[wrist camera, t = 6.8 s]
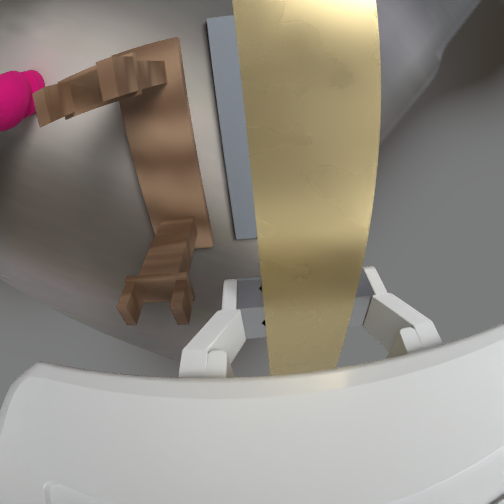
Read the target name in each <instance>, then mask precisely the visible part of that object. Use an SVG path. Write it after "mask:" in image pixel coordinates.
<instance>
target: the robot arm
mask: <svg viewBox="0 0 504 504" xmlns="http://www.w3.org/2000/svg"><path fill="white" fill-rule="evenodd" d="M359 326H363V328H364V329H365V330H366V331H367V332H368V333H369V334H371V336H373V337H374V338H375V339H376V340H377V341H378V342H379V343H380V344H381V345H382V346H383V347H384V348H385V349H386V350H387V351H388V352H389V354H388V356H387V358H386V359H383V360H378V361H373V362H368V363H363V364H358V365H352V366H346V367H340V368H333V369H326V370H319V371H311V372H303V373H293V374H283V375H271V376H256V377H234V374H233V371H232V368H231V365H230V364H231V362H232V361H233V359H234V358H235V356H236V355H237V353H238V352H239V350H240V349H241V347H242V345H243V344H244V342H245V341H246V339H249V338H260V337H267V335H266V324H265V313H264V302H263V291H262V280H261V277H260V278H242V279H227V280H225V281H224V285H223V297H222V310H220V311H217V312H216V313H215V314H214V315H213V317H212V318H211V319H210V320H209V321H208V322H207V323H206V324H205V326H204V327H203V328H202V329H201V330H200V331H199V332H198V333H197V334H196V336H195V337H194V338H193V339H192V340H191V341H190V342H189V343H188V344H187V346H186V347H185V348H184V349H183V350H182V356H181V363H180V370H179V377H178V378H172V377H153V376H139V375H127V374H118V373H108V372H100V371H93V370H86V369H80V368H74V367H68V366H62V365H57V364H52V363H48V362H42V361H41V362H37V363H35V364H33V365H32V366H31V367H29V368H28V369H27V370H26V371H25V372H23V373H22V374H21V375H20V376H19V377H18V378H17V379H16V380H15V381H14V382H13V383H12V385H11V387H10V389H9V391H8V393H7V395H6V397H5V400H4V402H3V405H2V408H1V411H0V504H504V323H502V324H499V325H496V326H494V327H491V328H488V329H486V330H483V331H481V332H478V333H475V334H472V335H469V336H466V337H464V338H461V339H458V340H454V341H451V342H448V343H445V344H443V343H442V341H441V339H440V337H439V335H438V332H437V330H436V329H435V326H434V324H433V322H432V321H431V320H429V319H428V318H427V317H425V316H424V315H422V314H421V313H419V312H418V311H416V310H415V309H414V308H412V307H411V306H409V305H408V304H406V303H405V302H403V301H402V300H400V299H399V298H397V297H396V296H394V295H393V294H391V293H387V291H386V289H385V287H384V285H383V283H382V281H381V279H380V277H379V275H378V273H377V271H376V269H375V268H374V267H373V266H370V267H362V270H361V275H360V280H359V284H358V289H357V293H356V297H355V301H354V306H353V310H352V314H351V317H350V321H349V325H348V328H351V327H359Z"/></svg>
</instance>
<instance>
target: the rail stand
mask: <svg viewBox="0 0 504 504" xmlns="http://www.w3.org/2000/svg"><path fill="white" fill-rule="evenodd" d="M33 100H34V104H35V109H36V113H37V118H38V122H39V126H40V127H42V126H45V125H47V124H49V123H51V122H53V121H55V120H57V119H60V118H62V117H64V116H65V119H69V118H71V117H74V116H76V115H79V114H82V113H84V112H87V111H90V110H92V109H95V108H98V107H101V106H104V105H107V104H110V103H113V102H116V101H120V106H121V111H122V116H123V120H124V125H125V129H126V134H127V138H128V142H129V146H130V150H131V154H132V158H133V162H134V166H135V169H136V173H137V177H138V180H139V184H140V187H141V191H142V194H143V198H144V201H145V204H146V207H147V211H148V214H149V217H150V220H151V223H152V226H153V230H154V233H155V236H154V239H153V241H152V243H151V246H150V248H149V250H148V253H147V255H146V257H145V260H144V262H143V265H142V267H141V270H140V272H139V275H138V276H127V277H126V279H125V282H126V285H125V287H124V290H123V292H122V295H121V297H120V300H119V302H118V305H117V307H116V308H117V309H118V311H119V312H120V314H121V316H122V317H123V319H124V321H125V322H126V324H127V325H137V322H138V319H139V315H140V312H141V309H142V306H143V303H150V302H170V308H171V311H172V313H173V315H174V317H175V319H176V322H177V324H178V325H185V324H189V321H190V315H191V309H192V303H193V301H194V298H195V295H194V292H193V289H192V286H191V283H190V280H189V277H188V273H189V268H190V264H191V259H192V255H193V251H194V248H206V247H213V244H214V240H213V235H212V230H211V225H210V220H209V215H208V210H207V205H206V200H205V195H204V189H203V184H202V179H201V173H200V168H199V162H198V157H197V151H196V145H195V140H194V134H193V128H192V122H191V116H190V109H189V103H188V97H187V90H186V83H185V77H184V70H183V63H182V55H181V48H180V40H179V38H177V37H175V38H170V39H166V40H162V41H158V42H154V43H151V44H147V45H144V46H140V47H137V48H134V49H131V50H128V51H125V52H122V53H119V54H116V55H113V56H112V57H109V58H107V59H104V60H101V61H99V62H96V65H95V66H93V67H90V68H88V69H86V70H83V71H81V72H79V73H76V74H74V75H72V76H70V77H68V78H66V79H64V80H62V81H60V82H58V84H55V85H51V86H47V87H44V88H42V89H40V90H38V91H36V92H35V93H33Z"/></svg>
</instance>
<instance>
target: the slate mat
mask: <svg viewBox="0 0 504 504" xmlns="http://www.w3.org/2000/svg"><path fill="white" fill-rule="evenodd" d="M207 27H208V35H209V44H210V52H211V60H212V68H213V76H214V84H215V91H216V99H217V107H218V114H219V122H220V129H221V136H222V144H223V151H224V158H225V165H226V172H227V179H228V186H229V193H230V200H231V207H232V214H233V220H234V227H235V234H236V240H238V239H249V238H257V228H256V218H255V208H254V198H253V188H252V178H251V168H250V158H249V148H248V139H247V129H246V119H245V110H244V100H243V91H242V82H241V72H240V63H239V54H238V45H237V36H236V27H235V19H234V15H231V16H222V17H215V18H208V19H207Z"/></svg>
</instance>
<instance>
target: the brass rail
mask: <svg viewBox="0 0 504 504" xmlns="http://www.w3.org/2000/svg"><path fill="white" fill-rule="evenodd" d="M232 1H233V10H234V19H235V27H236V36H237V45H238V54H239V63H240V72H241V82H242V91H243V100H244V110H245V119H246V129H247V139H248V148H249V158H250V168H251V178H252V188H253V198H254V208H255V218H256V228H257V238H258V249H259V259H260V270H261V280H262V291H263V302H264V313H265V324H266V335H267V346H268V356H269V368H270V376H271V375H283V374H293V373H303V372H311V371H319V370H326V369H333V368H336V366H337V362H338V360H339V356H340V353H341V350H342V346H343V343H344V339H345V336H346V332H347V329H348V325H349V321H350V317H351V314H352V310H353V306H354V301H355V297H356V293H357V289H358V284H359V280H360V275H361V270H362V265H363V260H364V255H365V250H366V244H367V239H368V232H369V227H370V220H371V213H372V206H373V199H374V191H375V182H376V172H377V162H378V150H379V135H380V113H381V64H380V43H379V29H378V19H377V9H376V1H375V0H232Z"/></svg>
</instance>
